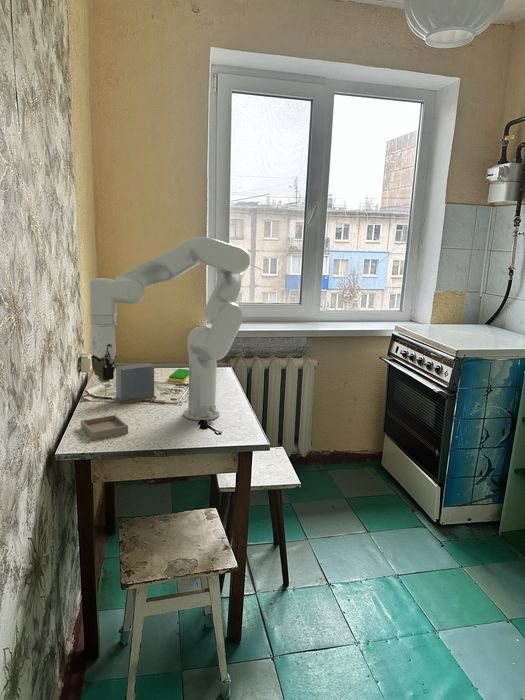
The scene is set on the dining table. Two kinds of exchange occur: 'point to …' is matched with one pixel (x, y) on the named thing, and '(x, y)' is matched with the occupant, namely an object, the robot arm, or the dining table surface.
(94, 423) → the tray
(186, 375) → the dish sponge
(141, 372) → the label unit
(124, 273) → the robot arm
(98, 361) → the cup
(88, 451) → the dining table surface
